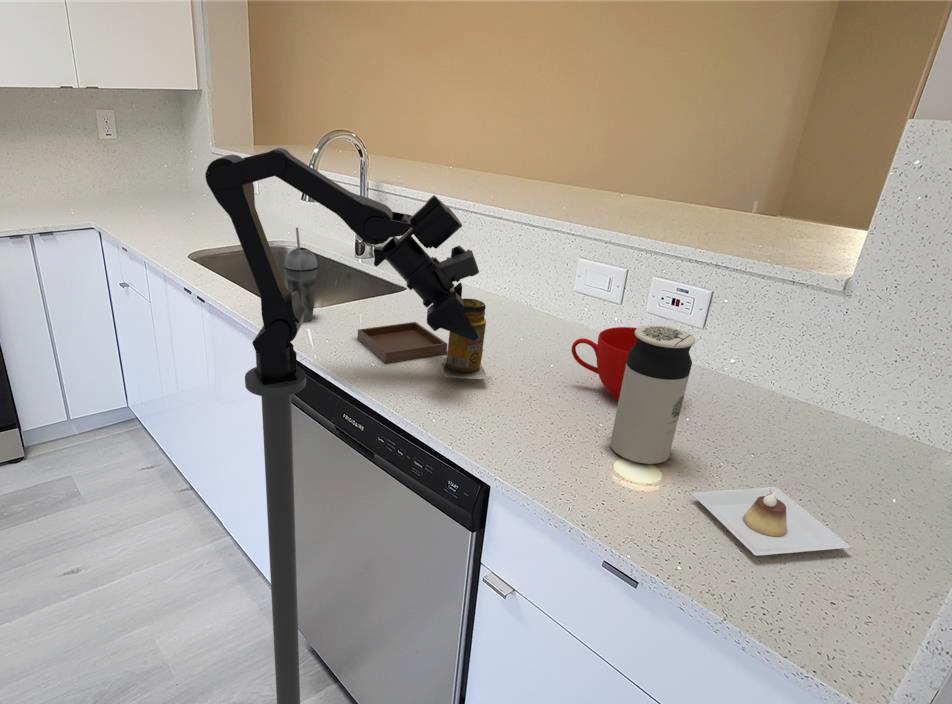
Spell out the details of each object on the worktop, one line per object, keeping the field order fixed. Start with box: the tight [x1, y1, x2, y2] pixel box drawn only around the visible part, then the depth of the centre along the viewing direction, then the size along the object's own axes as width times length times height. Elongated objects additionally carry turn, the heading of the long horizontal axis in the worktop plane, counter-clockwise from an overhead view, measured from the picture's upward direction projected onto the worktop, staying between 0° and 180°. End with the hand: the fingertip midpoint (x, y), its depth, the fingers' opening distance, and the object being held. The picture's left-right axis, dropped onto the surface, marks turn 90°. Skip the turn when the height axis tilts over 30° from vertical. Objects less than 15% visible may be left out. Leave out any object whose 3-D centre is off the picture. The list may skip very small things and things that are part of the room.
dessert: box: [691, 486, 852, 557], centre depth 77 cm, size 12×12×5 cm
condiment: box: [440, 298, 488, 380], centre depth 112 cm, size 7×8×12 cm
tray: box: [357, 321, 448, 364], centre depth 128 cm, size 13×13×2 cm
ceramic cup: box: [571, 326, 638, 401], centre depth 109 cm, size 13×17×10 cm
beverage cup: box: [283, 227, 319, 323], centre depth 138 cm, size 7×7×20 cm
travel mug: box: [609, 324, 696, 465], centre depth 90 cm, size 8×8×18 cm
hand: (475, 332), depth 112 cm, fingers closed on condiment, 6 cm apart
